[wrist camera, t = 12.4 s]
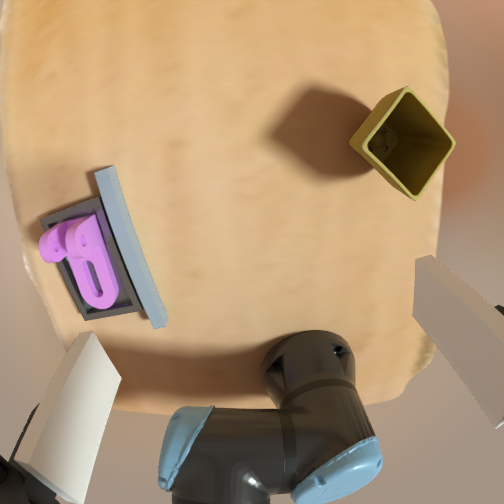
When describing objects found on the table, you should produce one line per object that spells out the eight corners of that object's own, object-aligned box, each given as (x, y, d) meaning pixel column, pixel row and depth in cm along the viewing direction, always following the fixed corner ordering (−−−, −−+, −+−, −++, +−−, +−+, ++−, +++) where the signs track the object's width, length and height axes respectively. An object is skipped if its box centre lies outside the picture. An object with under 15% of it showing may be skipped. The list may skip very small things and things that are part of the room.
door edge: (168, 317, 42) (165, 326, 40) (157, 319, 42) (153, 328, 40) (114, 165, 34) (106, 168, 31) (102, 169, 34) (94, 173, 31)
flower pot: (371, 90, 32) (408, 83, 23) (416, 137, 34) (458, 143, 26) (330, 141, 34) (359, 147, 26) (379, 186, 37) (415, 203, 28)
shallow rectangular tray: (145, 302, 41) (142, 310, 39) (89, 313, 41) (84, 320, 39) (104, 193, 35) (98, 197, 33) (47, 215, 35) (40, 219, 33)
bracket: (62, 220, 35) (35, 238, 28) (96, 212, 35) (71, 230, 28) (91, 305, 40) (72, 333, 33) (123, 302, 40) (107, 331, 33)
